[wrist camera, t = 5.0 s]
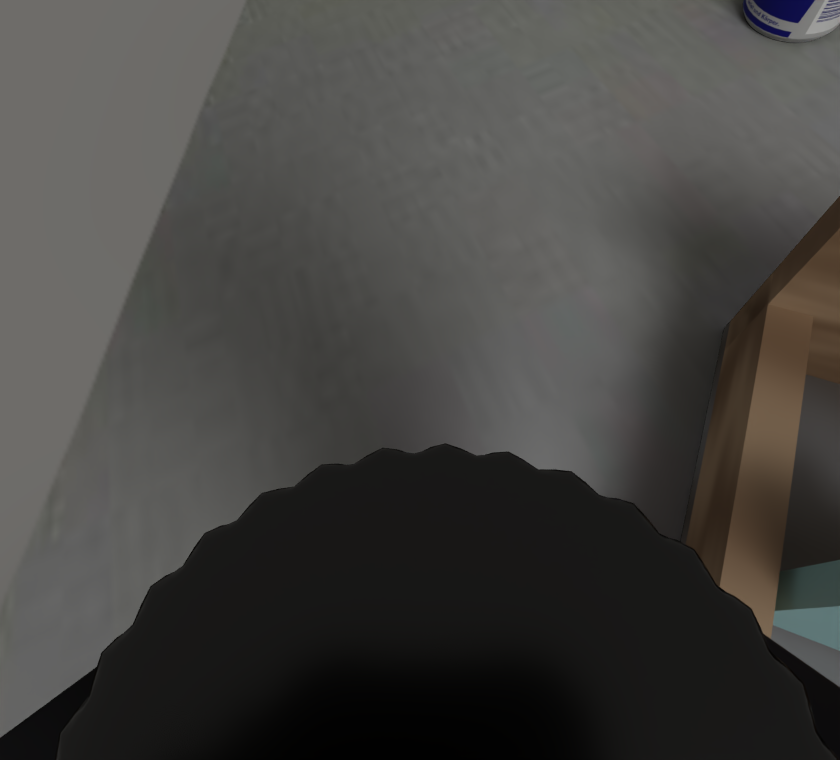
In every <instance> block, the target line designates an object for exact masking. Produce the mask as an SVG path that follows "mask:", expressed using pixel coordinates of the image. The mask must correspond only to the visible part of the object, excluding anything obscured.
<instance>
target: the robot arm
mask: <svg viewBox="0 0 840 760" xmlns="http://www.w3.org/2000/svg"><path fill="white" fill-rule="evenodd" d="M764 637H765V639H766V642H767V644H768V647H769V649H770V651H771V652H772V653H773V654H775V655H776V656H777V657H778V658H779V659H780V660H781V661H782V662H783V663H785V664H786V665H787V666H788V667H789V668H790V669H791V670H792V671H793V672H794V673H795V674H796V676H797V677H798V678H799V679H800V680H801V681H802V682H803V683H804V685H805V688H806V691H807V694H808V698H809V701H810V704H811V708H812V712H813V716H814V720H815V725H816V729H817V732H818V733H819V734H820V736H821V737H822V739H823V740H824V742H825V743H826V744H827V746H828V747H829V748H830V749H831V750H832V751H833V752H834V753H835V754H836V756H837V757H838V759H839V760H840V687H839V686H838V685H836V684H835V683H833V682H832V681H830V680H829V679H828V678H826V677H825V676H823V675H822V674H820V673H819V672H818V671H816V670H815V669H813V668H812V667H810V666H809V665H808V664H806V663H805V662H803V661H802V660H800V659H799V658H798V657H796V656H795V655H793V654H792V653H790V652H789V651H788V650H786V649H785V648H783V647H782V646H780V645H779V644H778V643H776V642H775V641H773V640H772V639H770V638H769V637H768V636H766V635H765V634H764ZM96 668H97V667H96ZM96 668H95V669H93V670H92V671H91V672H89V673H88V674H86V675H85V676H84V677H82V678H81V679H80V680H78V681H77V682H76V683H74V684H73V685H71V686H70V687H69V688H67V689H66V690H65V691H63V692H62V693H61V694H59V695H58V696H57V697H55V698H54V699H52V700H51V701H50V702H48V703H47V704H46V705H44V706H43V707H42V708H40V709H39V710H37V711H36V712H35V713H33V714H32V715H31V716H29V717H28V718H27V719H25V720H24V721H23V722H21V723H20V724H18V725H17V726H16V727H14V728H13V729H12V730H10V731H9V732H8V733H6V734H5V735H3V736H2V737H1V738H0V760H55V755H56V749H57V744H58V738H59V733H60V731H61V730H62V729H63V727H64V726H65V724H66V723H67V722H68V720H69V719H70V718H71V716H72V715H73V714H74V712H75V711H76V710H77V709H78V708H79V707H80V705H81V704H82V703H83V702H84V701H85V699H86V698H87V697H88V696H89V693H90V689H91V685H92V682H93V678H94V674H95V671H96Z"/></svg>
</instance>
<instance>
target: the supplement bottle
mask: <svg viewBox="0 0 840 760" xmlns="http://www.w3.org/2000/svg"><path fill="white" fill-rule="evenodd" d="M55 760H839V759H838V757H837V756H836V754H835V753H834V752H833V751H832V750H831V749H830V748H829V747H828V746H827V744H826V743H825V742H824V740H823V739H822V737H821V736H820V734H819V733H818V732H817V729H816V725H815V720H814V716H813V712H812V708H811V704H810V701H809V698H808V694H807V691H806V688H805V685H804V683H803V682H802V681H801V680H800V679H799V678H798V677H797V676H796V674H795V673H794V672H793V671H792V670H791V669H790V668H789V667H788V666H787V665H786V664H785V663H783V662H782V661H781V660H780V659H779V658H778V657H777V656H776V655H775V654H773V653H772V652H771V651H770V649H769V647H768V644H767V642H766V639H765V637H764V634H763V632H762V629H761V627H760V625H759V623H758V621H757V619H756V617H755V614H754V612H753V610H752V608H750V607H749V606H748V605H746V604H745V603H744V602H742V601H741V600H740V599H738V598H737V597H736V596H734V595H732V594H730V593H728V592H726V591H725V590H723V589H722V588H720V587H719V586H718V585H717V584H716V583H715V581H714V579H713V578H712V576H711V574H710V572H709V571H708V569H707V567H706V566H705V564H704V563H703V561H702V560H701V558H700V557H699V555H698V554H697V552H696V551H695V549H694V548H692V547H690V546H688V545H686V544H684V543H682V542H680V541H678V540H675V539H671V538H668V537H666V536H664V535H662V534H660V533H659V532H658V531H657V530H656V528H655V527H654V526H653V525H652V523H651V522H650V521H649V520H648V518H647V517H646V516H645V515H644V514H643V513H642V512H641V511H640V510H639V509H638V508H637V507H636V506H635V504H634V503H631V502H627V501H624V500H621V499H617V498H607V497H604V496H601V495H599V494H598V493H596V492H595V491H594V490H593V489H592V488H591V487H590V486H589V485H588V484H587V483H586V482H584V481H583V480H582V479H581V478H579V477H578V476H577V475H575V474H574V473H573V472H572V471H563V470H538V469H536V468H535V467H533V466H532V465H530V464H529V463H528V462H526V461H525V460H523V459H521V458H519V457H518V456H516V455H514V454H512V453H510V452H495V453H490V454H486V455H479V456H476V455H474V454H471V453H469V452H467V451H465V450H463V449H461V448H458V447H455V446H452V445H449V444H446V443H445V444H441V445H437V446H434V447H430V448H428V449H426V450H424V451H422V452H419V453H415V454H414V453H406V452H403V451H400V450H397V449H389V448H381V449H379V450H377V451H375V452H373V453H371V454H369V455H367V456H366V457H364V458H363V459H361V460H360V461H358V462H356V463H355V464H351V465H343V464H324V465H320V466H319V467H318V468H316V469H315V470H314V471H312V472H311V473H309V474H308V475H307V476H306V477H305V478H303V479H302V480H301V481H300V482H299V483H298V484H297V485H296V486H294V487H288V488H281V489H276V490H272V491H268V492H264V493H261V494H260V495H259V496H258V497H257V498H256V499H255V500H254V501H253V502H252V503H251V504H250V505H249V507H248V508H247V509H246V510H245V511H244V513H243V514H242V515H241V516H240V517H239V519H238V520H237V521H234V522H232V523H230V524H227V525H222V526H219V527H217V528H215V529H213V530H210V531H208V532H206V533H204V535H203V536H202V537H201V539H200V540H199V542H198V543H197V544H196V546H195V547H194V549H193V550H192V552H191V553H190V555H189V557H188V558H187V560H186V562H185V563H184V565H183V566H182V567H181V568H179V569H178V570H176V571H175V572H173V573H171V574H168V575H166V576H165V577H163V578H162V579H160V580H159V581H157V582H156V583H154V584H153V585H152V586H151V587H150V589H149V590H148V592H147V594H146V596H145V598H144V600H143V602H142V604H141V607H140V609H139V611H138V614H137V616H136V618H135V621H134V623H133V625H132V626H131V627H130V628H129V629H127V630H126V631H125V632H124V633H123V634H122V635H120V636H119V637H117V638H116V639H115V640H114V641H113V642H112V643H111V644H110V645H109V646H108V647H107V648H106V649H105V650H104V651H103V652H102V653H101V656H100V659H99V662H98V665H97V668H96V671H95V674H94V678H93V682H92V685H91V689H90V693H89V696H88V697H87V698H86V699H85V701H84V702H83V703H82V704H81V705H80V707H79V708H78V709H77V710H76V711H75V712H74V714H73V715H72V716H71V718H70V719H69V720H68V722H67V723H66V724H65V726H64V727H63V729H62V730H61V731H60V733H59V738H58V744H57V749H56V755H55Z"/></svg>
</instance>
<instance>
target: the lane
mask: <svg viewBox="0 0 840 760" xmlns="http://www.w3.org/2000/svg"><path fill="white" fill-rule="evenodd" d="M680 542H682V543H684V544H686V545H688V546H690V547H692V548H694V549H695V551H696V552H697V554H698V555H699V557H700V558H701V560H702V561H703V563H704V564H705V566H706V567H707V569H708V571H709V572H710V574H711V576H712V578H713V579H714V581H715V583H716V584H717V585H718V586H719V587H720V588H722V589H723V590H725V591H726V592H728V593H730V594H732V595H734V596H736V597H737V598H738V599H740V600H741V601H742V602H744V603H745V604H746V605H748V606H749V607H750V608H752V610H753V612H754V614H755V617H756V619H757V621H758V623H759V625H760V627H761V629H762V632H763V634H765V635H766V636H768V637H769V638H770V639H772V640H773V641H775V642H776V643H778V644H779V645H780V646H782V647H783V648H785V649H786V650H788V651H789V652H790V653H792V654H793V655H795V656H796V657H798V658H799V659H800V660H802V661H803V662H805V663H806V664H808V665H809V666H810V667H812V668H813V669H815V670H816V671H818V672H819V673H820V674H822V675H823V676H825V677H826V678H828V679H829V680H830V681H832V682H833V683H835V684H836V685H838V686H839V687H840V651H839V650H836V649H834V648H831V647H828V646H826V645H823V644H821V643H818V642H815V641H813V640H810V639H808V638H805V637H802V636H800V635H797V634H795V633H792V632H789V631H787V630H784V629H782V628H779V627H776V626H774V625H773V619H774V612H775V604H776V597H777V589H778V581H779V574H780V571H785V570H790V569H795V568H800V567H805V566H811V565H816V564H821V563H826V562H831V561H836V560H840V196H839V197H838V198H837V200H836V201H835V202H834V203H833V204H832V205H831V207H830V208H829V209H828V210H827V211H826V212H825V213H824V215H823V216H822V217H821V218H820V219H819V220H818V221H817V223H816V224H815V225H814V226H813V227H812V228H811V229H810V231H809V232H808V233H807V234H806V235H805V236H804V237H803V239H802V240H801V241H800V242H799V243H798V244H797V245H796V247H795V248H794V249H793V250H792V251H791V252H790V253H789V255H788V256H787V257H786V258H785V259H784V260H783V262H782V263H781V264H780V265H779V266H778V267H777V268H776V270H775V271H774V272H773V273H772V274H771V275H770V276H769V278H768V279H767V280H766V281H765V282H764V283H763V284H762V286H761V287H760V288H759V289H758V290H757V291H756V292H755V294H754V295H753V296H752V297H751V298H750V299H749V300H748V302H747V303H746V304H745V305H744V306H743V307H742V308H741V310H740V311H739V312H738V313H737V314H736V315H735V317H734V318H733V319H732V320H731V321H730V322H729V323H728V325H727V326H726V327H725V328H724V332H723V336H722V341H721V346H720V351H719V356H718V361H717V366H716V371H715V376H714V380H713V385H712V390H711V395H710V400H709V405H708V410H707V415H706V419H705V424H704V429H703V434H702V439H701V444H700V449H699V454H698V458H697V463H696V468H695V473H694V478H693V483H692V488H691V493H690V498H689V502H688V507H687V512H686V517H685V522H684V527H683V532H682V537H681V541H680Z"/></svg>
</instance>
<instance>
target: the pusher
mask: <svg viewBox="0 0 840 760" xmlns="http://www.w3.org/2000/svg"><path fill="white" fill-rule="evenodd" d="M773 625H774V626H776V627H779V628H782V629H784V630H787V631H789V632H792V633H795V634H797V635H800V636H802V637H805V638H808V639H810V640H813V641H815V642H818V643H821V644H823V645H826V646H828V647H831V648H834V649H836V650H839V651H840V560H836V561H831V562H826V563H821V564H816V565H811V566H805V567H800V568H795V569H790V570H785V571H780V574H779V581H778V589H777V597H776V604H775V612H774V619H773Z"/></svg>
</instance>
